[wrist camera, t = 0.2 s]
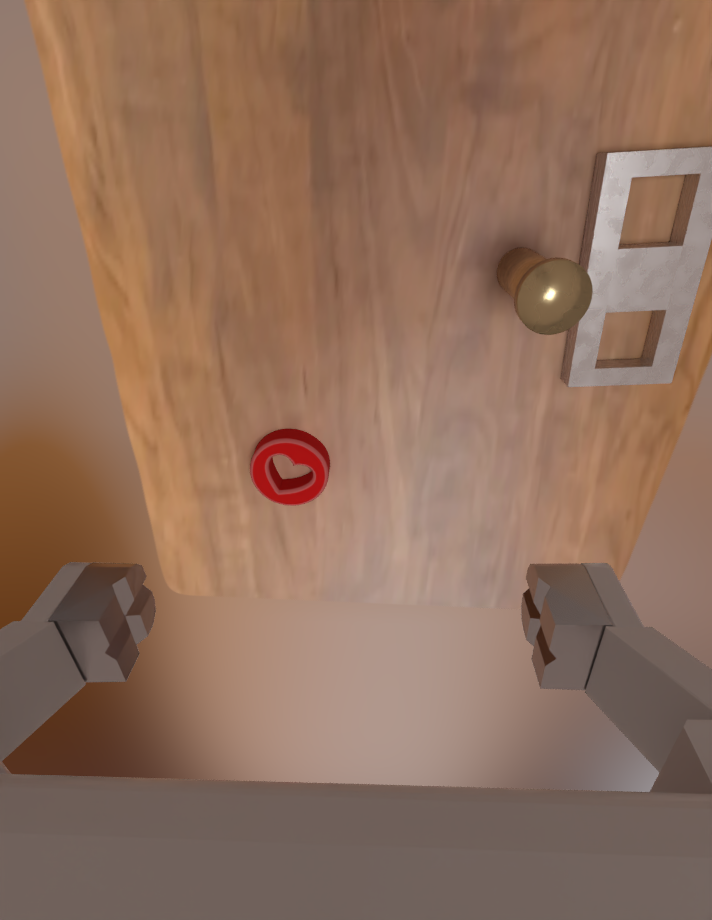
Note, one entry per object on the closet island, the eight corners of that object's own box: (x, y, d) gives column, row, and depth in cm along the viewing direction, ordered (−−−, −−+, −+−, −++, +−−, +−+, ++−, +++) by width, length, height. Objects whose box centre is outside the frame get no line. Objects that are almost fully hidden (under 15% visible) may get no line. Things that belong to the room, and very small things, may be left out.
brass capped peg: (491, 240, 51) (521, 262, 41) (552, 237, 51) (598, 258, 40) (486, 301, 54) (514, 336, 44) (544, 299, 54) (585, 333, 44)
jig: (596, 153, 47) (607, 153, 45) (720, 145, 46) (737, 145, 44) (560, 378, 58) (568, 387, 56) (660, 374, 58) (671, 383, 56)
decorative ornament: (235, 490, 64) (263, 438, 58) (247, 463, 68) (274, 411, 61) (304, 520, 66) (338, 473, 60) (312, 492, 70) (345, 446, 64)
